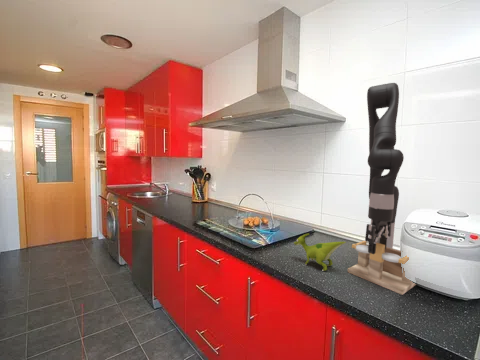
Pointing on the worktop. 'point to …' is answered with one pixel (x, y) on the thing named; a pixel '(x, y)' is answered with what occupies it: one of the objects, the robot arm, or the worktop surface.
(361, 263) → the display stand
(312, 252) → the toy
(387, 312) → the worktop surface
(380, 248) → the glasses
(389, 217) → the robot arm
